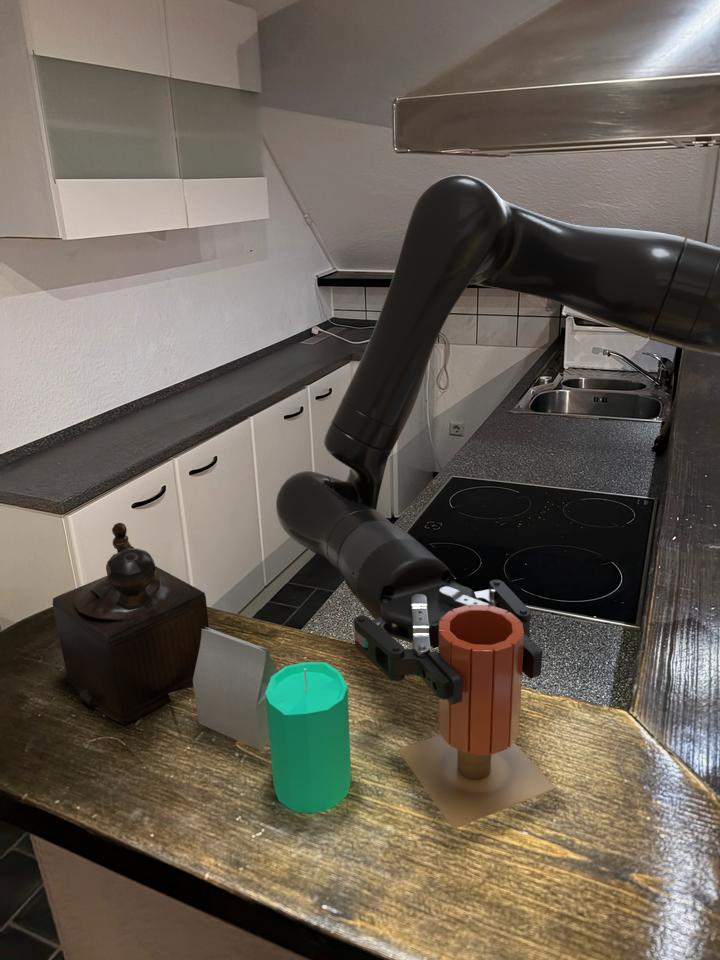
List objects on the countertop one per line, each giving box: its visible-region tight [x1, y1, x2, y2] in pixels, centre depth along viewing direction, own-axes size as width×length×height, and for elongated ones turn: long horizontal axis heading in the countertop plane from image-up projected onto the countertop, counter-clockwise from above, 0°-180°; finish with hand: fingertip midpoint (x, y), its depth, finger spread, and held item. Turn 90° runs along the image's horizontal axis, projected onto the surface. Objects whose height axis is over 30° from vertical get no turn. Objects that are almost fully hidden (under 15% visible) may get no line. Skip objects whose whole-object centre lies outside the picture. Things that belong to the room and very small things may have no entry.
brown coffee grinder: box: [52, 522, 210, 726], centre depth 69 cm, size 16×11×18 cm
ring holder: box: [397, 734, 557, 830], centre depth 59 cm, size 9×9×8 cm
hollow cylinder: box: [437, 605, 524, 755], centre depth 56 cm, size 6×6×9 cm
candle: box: [265, 661, 352, 814], centre depth 57 cm, size 6×6×12 cm
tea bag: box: [193, 627, 279, 751], centre depth 64 cm, size 4×7×10 cm, turn 59°
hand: (498, 679), depth 54 cm, fingers closed on hollow cylinder, 6 cm apart
